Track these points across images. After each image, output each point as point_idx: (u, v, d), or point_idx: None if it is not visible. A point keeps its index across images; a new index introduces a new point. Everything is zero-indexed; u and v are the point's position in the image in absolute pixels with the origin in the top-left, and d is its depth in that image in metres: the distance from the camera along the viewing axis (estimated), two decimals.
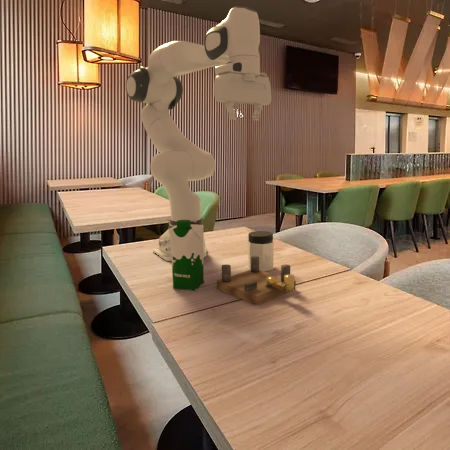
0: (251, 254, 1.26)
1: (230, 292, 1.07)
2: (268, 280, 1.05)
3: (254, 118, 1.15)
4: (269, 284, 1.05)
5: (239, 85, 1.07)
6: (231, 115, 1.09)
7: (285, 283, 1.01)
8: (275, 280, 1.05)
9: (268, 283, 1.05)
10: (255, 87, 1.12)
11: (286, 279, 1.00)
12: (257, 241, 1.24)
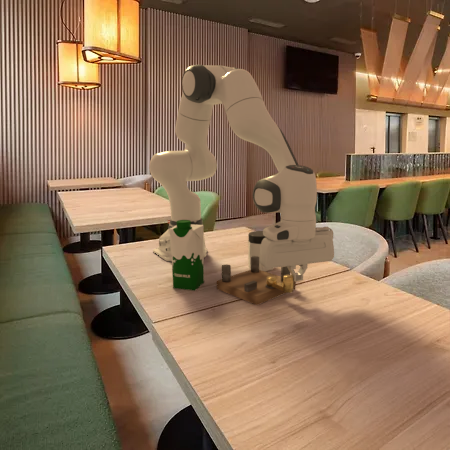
0: (251, 254, 1.26)
1: (230, 292, 1.07)
2: (268, 280, 1.05)
3: None
4: (269, 284, 1.05)
5: (288, 249, 0.98)
6: (293, 277, 1.01)
7: (284, 283, 1.01)
8: (275, 280, 1.05)
9: (268, 283, 1.05)
10: (311, 247, 1.00)
11: (285, 279, 1.00)
12: (257, 241, 1.24)
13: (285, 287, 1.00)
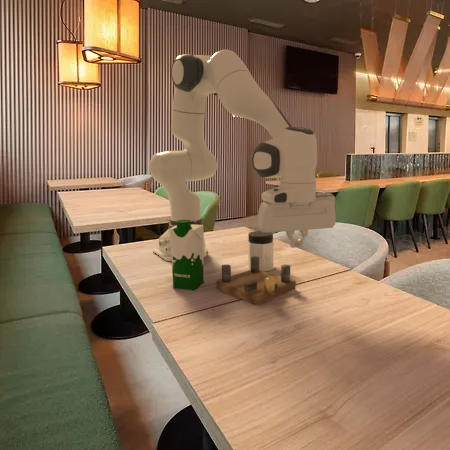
0: (251, 254, 1.26)
1: (230, 292, 1.07)
2: None
3: None
4: None
5: (287, 214, 0.95)
6: (291, 243, 0.99)
7: None
8: None
9: None
10: (311, 212, 0.97)
11: None
12: (257, 241, 1.24)
13: None
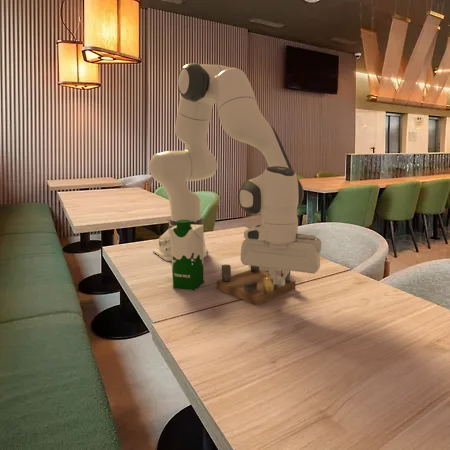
0: None
1: (230, 292, 1.07)
2: None
3: None
4: None
5: (264, 251, 0.98)
6: None
7: None
8: None
9: None
10: (289, 253, 0.95)
11: None
12: None
13: None
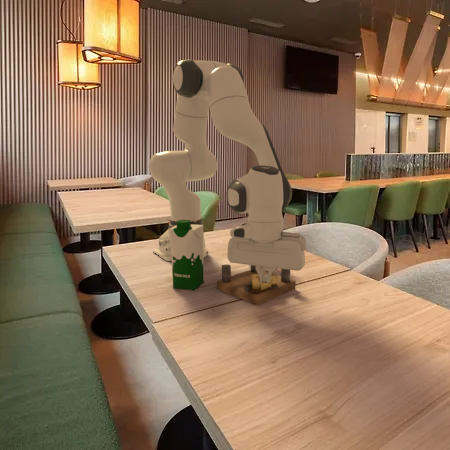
0: None
1: (230, 292, 1.07)
2: None
3: None
4: None
5: (250, 248, 0.99)
6: None
7: None
8: None
9: None
10: (274, 251, 0.96)
11: None
12: None
13: None
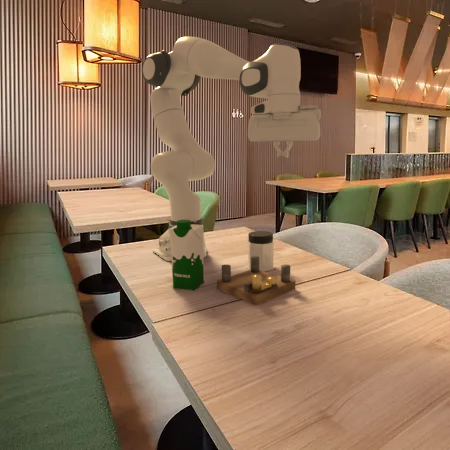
0: (251, 254, 1.26)
1: (230, 292, 1.07)
2: None
3: None
4: None
5: (269, 125, 1.07)
6: None
7: None
8: (268, 280, 1.05)
9: None
10: (292, 124, 1.05)
11: None
12: (257, 241, 1.24)
13: None
